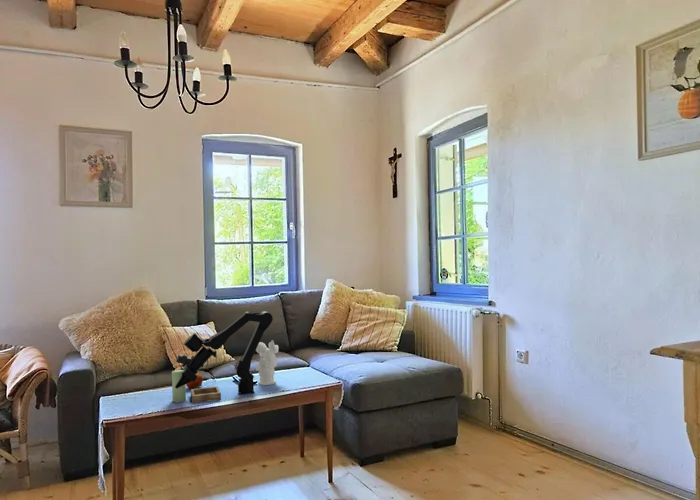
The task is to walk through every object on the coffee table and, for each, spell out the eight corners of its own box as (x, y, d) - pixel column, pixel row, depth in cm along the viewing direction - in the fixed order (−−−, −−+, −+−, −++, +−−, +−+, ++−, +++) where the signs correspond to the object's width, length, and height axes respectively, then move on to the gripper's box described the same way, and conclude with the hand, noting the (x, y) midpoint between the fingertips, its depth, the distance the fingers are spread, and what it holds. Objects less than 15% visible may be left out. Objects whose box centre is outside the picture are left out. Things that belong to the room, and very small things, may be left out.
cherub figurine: (253, 383, 256) (251, 339, 256) (272, 378, 266) (270, 335, 266) (269, 386, 248) (267, 341, 248) (288, 381, 258) (286, 337, 258)
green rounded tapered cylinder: (185, 397, 233) (184, 369, 233) (186, 401, 228) (185, 372, 228) (172, 399, 231) (171, 370, 231) (172, 402, 226) (171, 373, 226)
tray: (217, 392, 241) (217, 386, 241) (220, 399, 229) (220, 392, 229) (191, 395, 236) (190, 389, 236) (192, 403, 225) (192, 396, 225)
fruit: (201, 387, 246) (193, 372, 247) (188, 395, 247) (180, 380, 248) (209, 382, 254) (201, 368, 254) (197, 390, 255) (189, 376, 256)
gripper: (185, 344, 239) (161, 370, 236) (188, 351, 222) (161, 379, 218) (203, 359, 242) (179, 385, 238) (207, 367, 225) (181, 395, 221)
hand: (175, 386), depth 229 cm, fingers closed on green rounded tapered cylinder, 6 cm apart
